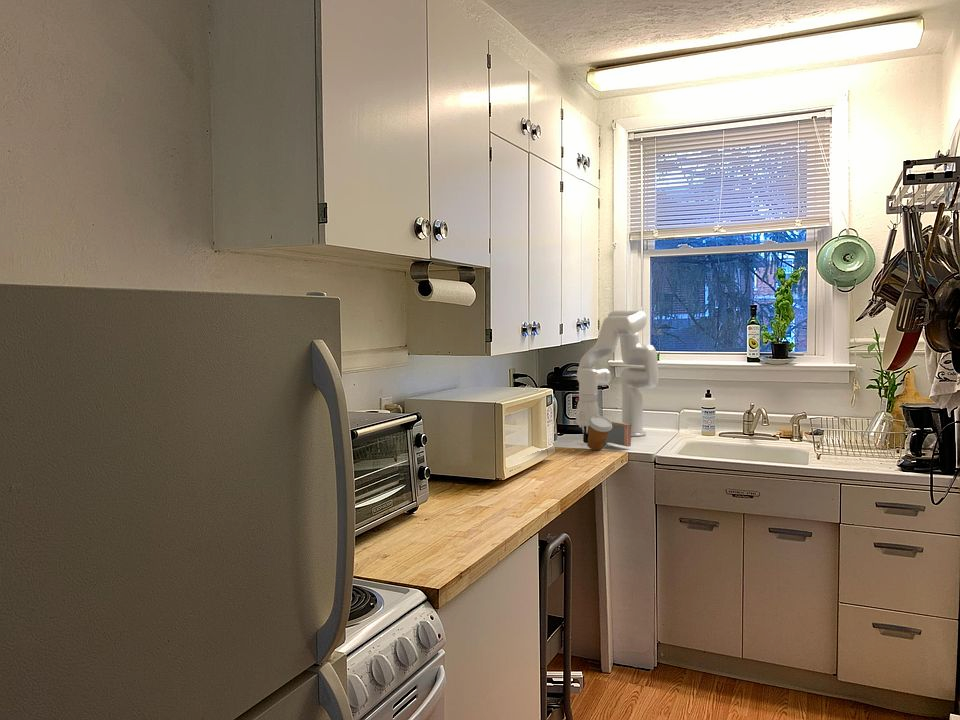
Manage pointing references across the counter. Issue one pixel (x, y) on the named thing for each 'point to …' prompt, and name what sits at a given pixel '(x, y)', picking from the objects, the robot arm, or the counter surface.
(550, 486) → the counter surface
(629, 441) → the bar
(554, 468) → the counter surface
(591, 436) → the disposable coffee cup
